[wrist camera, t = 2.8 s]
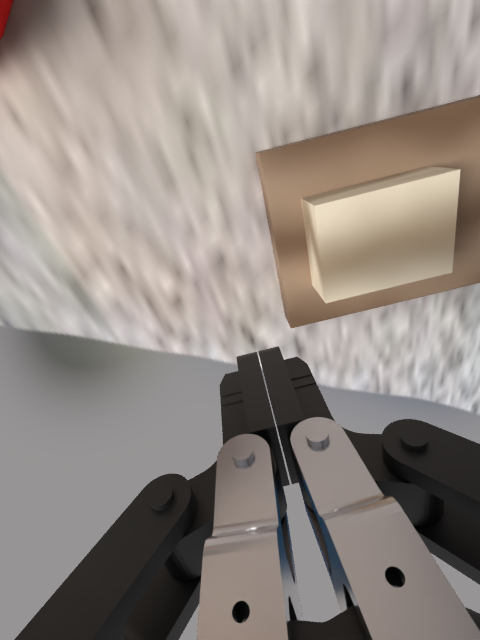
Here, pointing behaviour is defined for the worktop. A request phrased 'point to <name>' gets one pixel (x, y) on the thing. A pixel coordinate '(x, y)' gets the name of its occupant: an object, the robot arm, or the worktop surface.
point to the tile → (382, 232)
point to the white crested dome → (4, 14)
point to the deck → (360, 166)
